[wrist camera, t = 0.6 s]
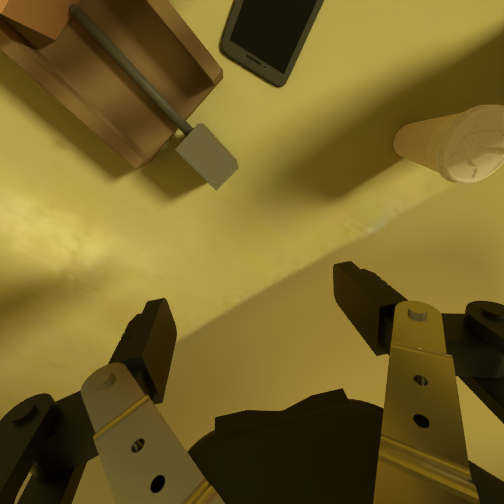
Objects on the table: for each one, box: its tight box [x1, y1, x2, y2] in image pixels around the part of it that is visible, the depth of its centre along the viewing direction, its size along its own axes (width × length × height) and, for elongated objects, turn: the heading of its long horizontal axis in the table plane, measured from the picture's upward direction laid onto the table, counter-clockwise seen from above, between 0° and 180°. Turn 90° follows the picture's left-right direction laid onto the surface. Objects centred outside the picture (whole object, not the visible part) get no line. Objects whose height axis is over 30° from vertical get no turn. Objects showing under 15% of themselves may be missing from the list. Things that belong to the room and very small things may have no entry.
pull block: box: [0, 0, 238, 190], centre depth 21 cm, size 25×6×7 cm, turn 42°
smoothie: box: [393, 104, 504, 184], centre depth 24 cm, size 6×6×14 cm
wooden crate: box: [0, 0, 223, 169], centre depth 21 cm, size 20×12×4 cm, turn 42°
